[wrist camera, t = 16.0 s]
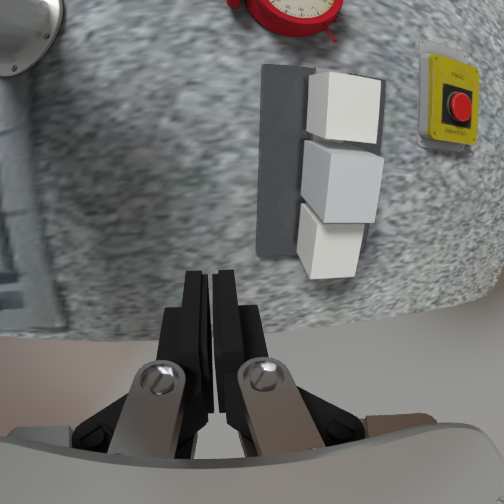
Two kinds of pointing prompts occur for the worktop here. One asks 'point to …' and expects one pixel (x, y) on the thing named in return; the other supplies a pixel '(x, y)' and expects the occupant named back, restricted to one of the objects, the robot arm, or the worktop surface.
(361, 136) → the mounted modules
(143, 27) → the worktop surface
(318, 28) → the alarm clock
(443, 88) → the emergency button
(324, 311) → the worktop surface
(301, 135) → the board
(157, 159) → the worktop surface
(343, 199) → the block
